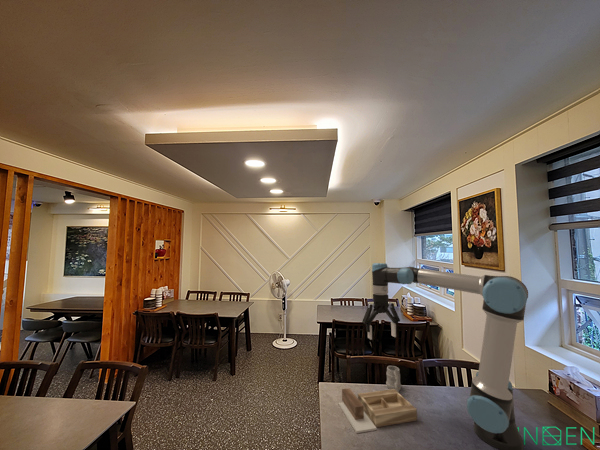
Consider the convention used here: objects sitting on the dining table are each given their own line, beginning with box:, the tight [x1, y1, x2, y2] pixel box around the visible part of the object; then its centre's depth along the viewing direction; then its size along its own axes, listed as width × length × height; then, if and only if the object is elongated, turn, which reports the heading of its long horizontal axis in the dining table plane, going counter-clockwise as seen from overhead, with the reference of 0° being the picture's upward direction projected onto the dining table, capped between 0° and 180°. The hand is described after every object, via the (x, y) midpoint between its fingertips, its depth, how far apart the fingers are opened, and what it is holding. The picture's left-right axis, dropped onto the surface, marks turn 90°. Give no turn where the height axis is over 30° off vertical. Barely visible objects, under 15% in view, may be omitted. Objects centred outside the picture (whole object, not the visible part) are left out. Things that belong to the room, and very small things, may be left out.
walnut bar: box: [341, 388, 364, 420], centre depth 110 cm, size 4×14×5 cm, turn 13°
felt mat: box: [338, 401, 378, 434], centre depth 106 cm, size 19×9×1 cm, turn 13°
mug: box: [385, 365, 402, 393], centre depth 128 cm, size 8×12×12 cm, turn 175°
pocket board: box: [357, 389, 418, 428], centre depth 110 cm, size 16×20×4 cm
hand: (382, 337), depth 119 cm, fingers open, 13 cm apart
